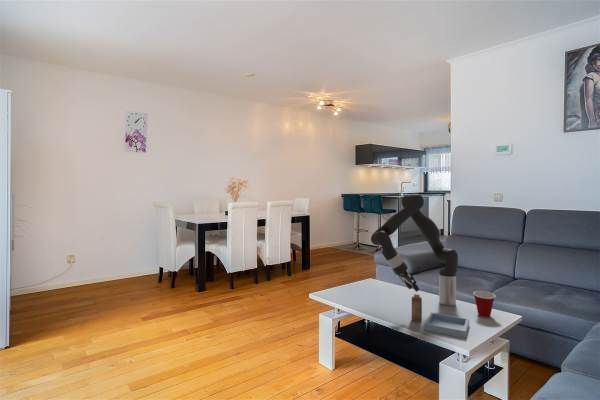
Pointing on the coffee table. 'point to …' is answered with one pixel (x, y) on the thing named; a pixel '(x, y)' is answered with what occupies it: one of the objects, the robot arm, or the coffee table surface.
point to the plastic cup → (484, 302)
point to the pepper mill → (416, 308)
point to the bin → (447, 325)
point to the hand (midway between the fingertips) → (414, 289)
